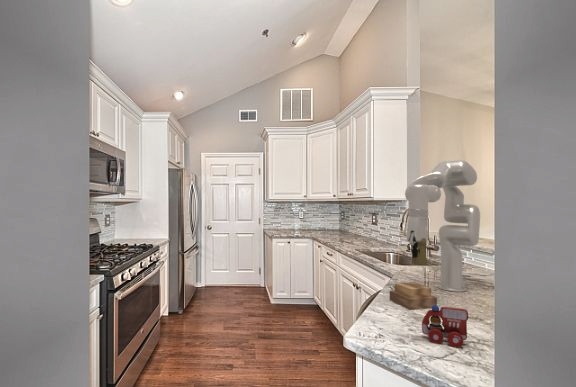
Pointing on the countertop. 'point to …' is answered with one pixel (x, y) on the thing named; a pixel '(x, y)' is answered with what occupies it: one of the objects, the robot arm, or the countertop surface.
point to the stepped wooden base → (413, 296)
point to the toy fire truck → (446, 325)
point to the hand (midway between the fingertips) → (418, 258)
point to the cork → (421, 254)
